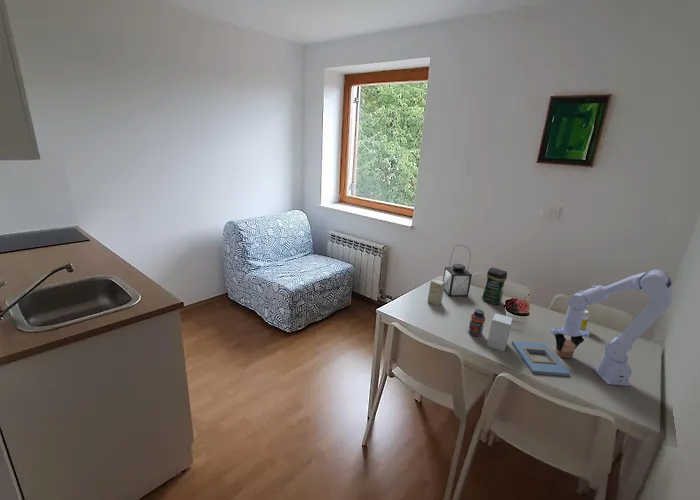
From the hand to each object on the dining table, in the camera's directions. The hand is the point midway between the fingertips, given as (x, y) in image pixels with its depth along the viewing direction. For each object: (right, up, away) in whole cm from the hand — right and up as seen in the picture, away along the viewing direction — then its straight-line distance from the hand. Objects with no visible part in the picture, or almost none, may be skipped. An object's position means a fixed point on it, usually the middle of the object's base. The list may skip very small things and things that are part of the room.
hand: (564, 350), depth 147 cm
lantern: (-30, +17, +54) cm, 64 cm away
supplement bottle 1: (-33, +4, +13) cm, 35 cm away
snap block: (0, -2, +1) cm, 2 cm away
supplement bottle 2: (+20, +4, +22) cm, 30 cm away
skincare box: (-44, +14, +40) cm, 61 cm away
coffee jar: (-12, +14, +46) cm, 49 cm away
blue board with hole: (-12, -3, -3) cm, 13 cm away
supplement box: (-26, +1, +5) cm, 26 cm away
